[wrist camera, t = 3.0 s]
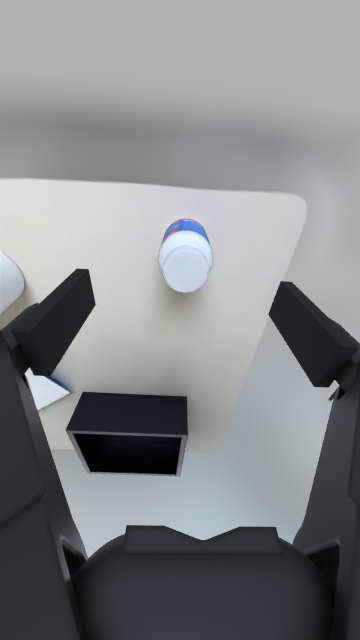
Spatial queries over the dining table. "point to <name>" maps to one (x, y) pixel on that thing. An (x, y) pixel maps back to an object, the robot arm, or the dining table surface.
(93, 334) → the dining table surface
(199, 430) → the dining table surface
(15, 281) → the candle holder
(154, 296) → the dining table surface
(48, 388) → the plate
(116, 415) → the basin
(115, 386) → the dining table surface
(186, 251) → the pill bottle
